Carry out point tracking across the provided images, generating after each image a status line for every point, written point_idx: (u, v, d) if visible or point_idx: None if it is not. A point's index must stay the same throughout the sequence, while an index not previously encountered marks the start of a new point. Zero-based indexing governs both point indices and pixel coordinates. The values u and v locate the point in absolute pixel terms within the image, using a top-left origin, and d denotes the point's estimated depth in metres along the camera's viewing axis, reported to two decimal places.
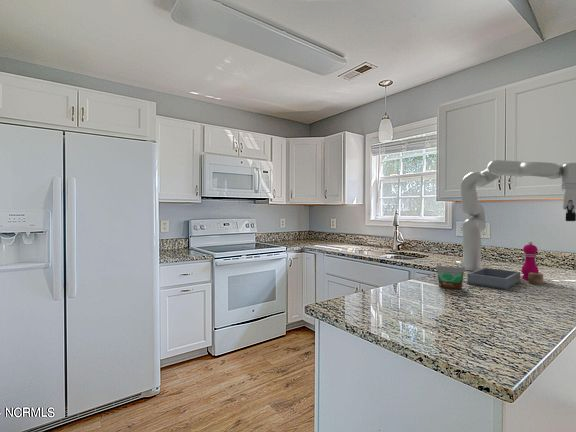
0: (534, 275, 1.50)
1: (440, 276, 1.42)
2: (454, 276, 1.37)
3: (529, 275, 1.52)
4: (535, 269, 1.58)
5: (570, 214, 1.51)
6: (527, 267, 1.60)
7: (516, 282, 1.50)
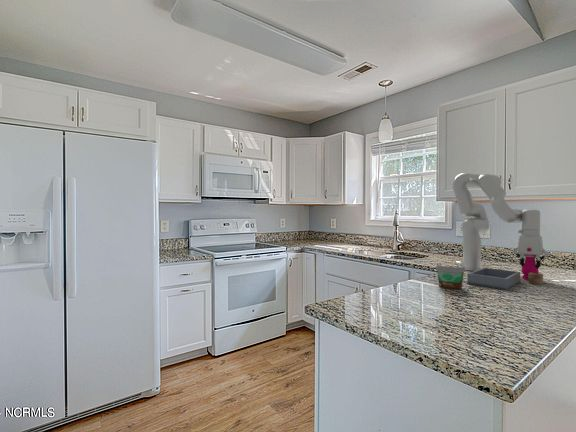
0: (534, 275, 1.50)
1: (440, 276, 1.42)
2: (454, 276, 1.37)
3: (529, 275, 1.52)
4: (535, 269, 1.58)
5: (540, 261, 1.58)
6: (527, 267, 1.60)
7: (516, 282, 1.50)
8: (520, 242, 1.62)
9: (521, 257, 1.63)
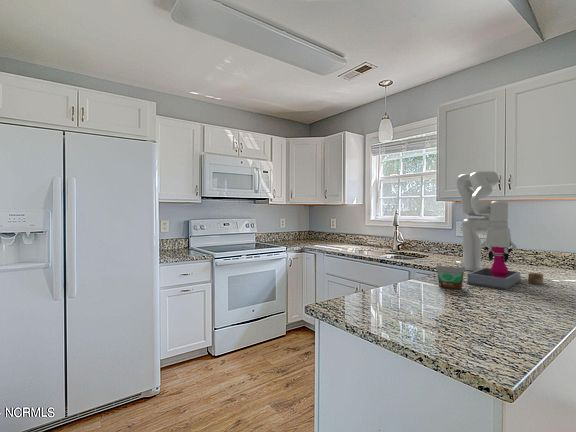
0: (534, 275, 1.50)
1: (440, 276, 1.42)
2: (454, 276, 1.37)
3: (529, 275, 1.52)
4: (504, 268, 1.52)
5: (508, 254, 1.53)
6: (496, 266, 1.54)
7: (516, 282, 1.50)
8: (488, 235, 1.57)
9: (489, 250, 1.58)
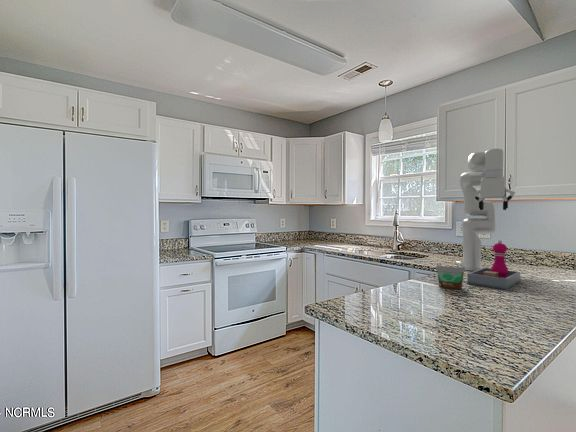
0: None
1: (440, 276, 1.42)
2: (454, 276, 1.37)
3: None
4: (504, 269, 1.52)
5: (507, 202, 1.45)
6: (496, 266, 1.54)
7: (516, 282, 1.50)
8: (482, 185, 1.50)
9: (480, 200, 1.52)
